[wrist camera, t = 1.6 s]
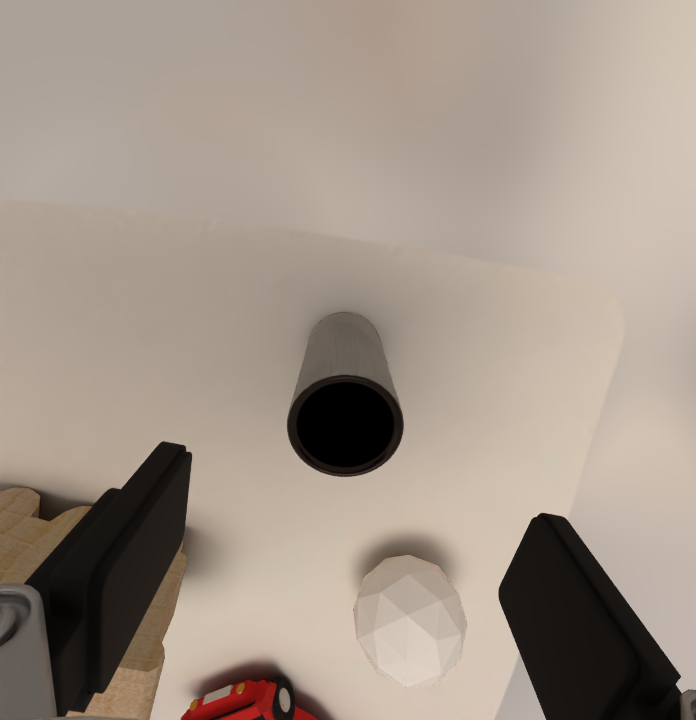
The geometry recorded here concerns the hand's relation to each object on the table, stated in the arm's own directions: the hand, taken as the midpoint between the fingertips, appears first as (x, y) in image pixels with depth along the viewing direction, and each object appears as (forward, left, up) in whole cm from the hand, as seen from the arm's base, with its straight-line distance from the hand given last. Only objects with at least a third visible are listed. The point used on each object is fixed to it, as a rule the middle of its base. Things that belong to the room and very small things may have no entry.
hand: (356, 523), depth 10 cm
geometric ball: (+18, +8, -15) cm, 25 cm away
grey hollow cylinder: (0, 0, -15) cm, 15 cm away
